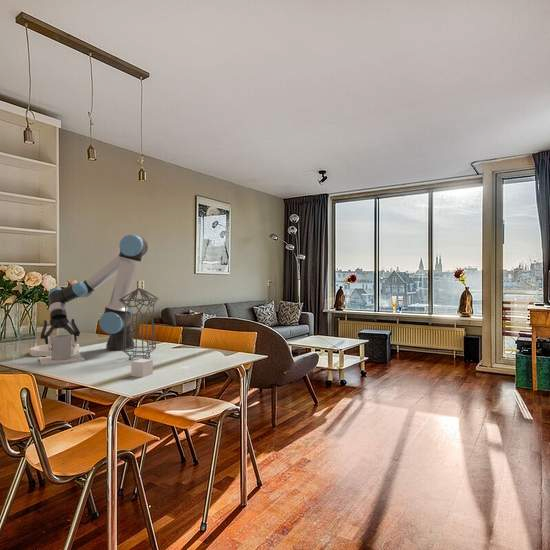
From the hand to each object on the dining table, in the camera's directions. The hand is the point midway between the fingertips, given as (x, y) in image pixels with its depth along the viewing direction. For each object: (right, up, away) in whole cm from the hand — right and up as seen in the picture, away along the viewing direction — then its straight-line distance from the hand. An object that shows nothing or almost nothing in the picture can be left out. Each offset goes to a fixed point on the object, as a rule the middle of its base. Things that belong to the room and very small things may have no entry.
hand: (61, 347), depth 197 cm
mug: (-2, -6, +2) cm, 6 cm away
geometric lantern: (+36, -6, +5) cm, 37 cm away
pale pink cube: (+49, -6, -30) cm, 57 cm away
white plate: (-16, -7, +24) cm, 30 cm away
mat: (-2, -6, +2) cm, 7 cm away
